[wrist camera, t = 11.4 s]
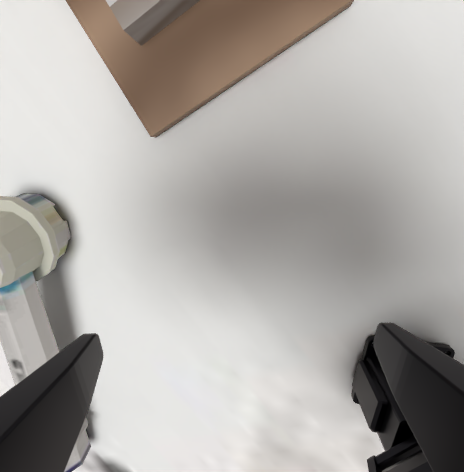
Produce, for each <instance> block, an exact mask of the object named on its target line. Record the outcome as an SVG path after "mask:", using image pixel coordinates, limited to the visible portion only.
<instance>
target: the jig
mask: <svg viewBox="0 0 464 472" xmlns="http://www.w3.org/2000/svg"><path fill="white" fill-rule="evenodd" d="M353 1H354V0H66V2H67V3H68V5H69V6H70V8H71V10H72V11H73V13H74V14H75V16H76V18H77V19H78V21H79V22H80V24H81V26H82V27H83V29H84V31H85V32H86V34H87V35H88V37H89V39H90V40H91V42H92V43H93V45H94V47H95V48H96V50H97V51H98V53H99V55H100V56H101V58H102V59H103V61H104V63H105V64H106V66H107V67H108V69H109V71H110V72H111V74H112V75H113V77H114V79H115V80H116V82H117V83H118V85H119V87H120V88H121V90H122V91H123V93H124V95H125V96H126V98H127V99H128V101H129V103H130V104H131V106H132V107H133V109H134V111H135V112H136V114H137V115H138V117H139V119H140V120H141V122H142V123H143V125H144V127H145V128H146V130H147V131H148V133H149V135H150V136H151V137H157V136H159V135H160V134H161V133H163V132H164V131H166V130H167V129H169V128H170V127H172V126H173V125H175V124H176V123H178V122H179V121H181V120H182V119H184V118H185V117H187V116H188V115H190V114H191V113H193V112H194V111H196V110H197V109H199V108H200V107H201V106H203V105H204V104H206V103H207V102H209V101H210V100H212V99H213V98H215V97H216V96H218V95H219V94H221V93H222V92H224V91H225V90H227V89H228V88H230V87H231V86H233V85H234V84H236V83H237V82H239V81H240V80H241V79H243V78H244V77H246V76H247V75H249V74H250V73H252V72H253V71H255V70H256V69H258V68H259V67H261V66H262V65H264V64H265V63H267V62H268V61H270V60H271V59H273V58H274V57H276V56H277V55H278V54H280V53H281V52H283V51H284V50H286V49H287V48H289V47H290V46H292V45H293V44H295V43H296V42H298V41H299V40H301V39H302V38H304V37H305V36H307V35H308V34H310V33H311V32H313V31H314V30H316V29H317V28H318V27H320V26H321V25H323V24H324V23H326V22H327V21H329V20H330V19H332V18H333V17H335V16H336V15H338V14H339V13H341V12H342V11H344V10H345V9H347V8H348V7H350V5H351V4H352V2H353Z"/></svg>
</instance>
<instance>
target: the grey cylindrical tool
mask: <svg viewBox="0 0 464 472" xmlns="http://www.w3.org/2000/svg"><path fill="white" fill-rule="evenodd" d="M54 206H55V204H54V203H52V202H51V201H49V200H47V199H46V198H44V197H43V196H41V195H40V194H22V195H19V196H16V197H5V196H0V341H1V344H2V347H3V350H4V353H5V356H6V359H7V362H8V365H9V368H10V371H11V374H12V377H13V380H14V383H15V385H17V384H18V383H19V382H21V381H22V380H23V379H24V378H26V377H27V376H28V375H30V374H31V373H32V372H34V371H35V370H36V369H38V368H39V367H40V366H42V365H43V364H44V363H46V362H47V361H48V360H50V359H51V358H52V357H54V356H55V355H56V354H57V353H59V349H58V346H57V343H56V340H55V337H54V334H53V331H52V328H51V325H50V322H49V319H48V316H47V314H46V311H45V308H44V305H43V302H42V299H41V296H40V293H39V290H38V287H37V284H36V281H38V280H39V279H41V278H42V277H44V276H45V275H47V274H48V273H50V272H51V271H52V270H54V269H55V268H56V264H57V260H58V258H60V257H61V256H62V255H63V254H65V253H66V252H65V251H66V247H67V244H68V240H69V239H70V238H71V235H70V231H69V227H68V223H67V221H64V220H62V218H61V217H60V216H59V214H58V213H57V212H56V210H55V209H54ZM88 425H89V424H88V421H87V419H86V418H85V420H84V423H83V426H82V428H81V431H80V433H79V436H78V438H77V441H76V443H75V446H74V448H73V451H72V453H71V456H70V458H69V461H68V463H67V466H66V469H65V471H64V472H72V471H73V470H75V469H76V468H77V467H79V466H80V465H82V464H83V462H84V460H85V458H86V456H87V454H88V452H89V450H90V447H91V445H90V442H89V439H88V436H87V432H86V428H87V427H88Z"/></svg>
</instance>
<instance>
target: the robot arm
mask: <svg viewBox="0 0 464 472" xmlns="http://www.w3.org/2000/svg"><path fill="white" fill-rule="evenodd" d="M373 342H374V344H372V343H373ZM446 351H447V352H446ZM445 352H446V353H445ZM454 354H455V352H454V350H453V349H452V348H451V347H450V346H449V345H444V344H436V343H428V342H424V341H423V340H421V339H419V338H418V337H416V336H414V335H413V334H411V333H409V332H408V331H406V330H404V329H403V328H401V327H399V326H398V325H396V324H394V323H391V322H389V323H379V324H378V326H377V330H376V334H375V336H370V337H369V338H367V340H366V344H365V347H364V351H363V355H362V358H361V359H360V360H359V362H358V365H357V369H356V372H355V376H354V380H353V383H352V386H353V391H352V399H353V401H354V402H355V403H357V404H360V406H361V408H362V411H363V413H364V416H365V418H366V421H367V423H368V426H369V428H370V429H371V431H372V432H377V433H378V435H379V438H380V440H381V443H382V445H383V447H384V450H385V452H383V453H381V454H379V455H378V456H372V457H370V458H369V459H367V463H368V469H369V472H464V365H463V364H461V363H459V362H458V361H456V360H454V359H453V357H454ZM102 361H103V350H102V346H101V343H100V339H99V336H98V334H96V333H91V334H83V335H81V336H80V337H79V338H77V339H76V340H75V341H73V342H72V343H71V344H69V345H68V346H67V347H65V348H64V349H63V350H61V351H60V352H59V353H57V354H56V355H55V356H54V357H52V358H51V359H50V360H48V361H47V362H46V363H44V364H43V365H42V366H40V367H39V368H38V369H36V370H35V371H34V372H32V373H31V374H30V375H28V376H27V377H26V378H24V379H23V380H22V381H21V382H19V383H18V384H17V385H15V386H14V387H13V388H11V389H10V390H9V391H7V392H6V393H5V394H3V395H2V396H1V397H0V472H64V471H65V469H66V466H67V463H68V461H69V458H70V456H71V453H72V451H73V448H74V446H75V443H76V441H77V438H78V436H79V433H80V431H81V428H82V426H83V423H84V420H85V418H86V415H87V413H88V410H89V407H90V403H91V400H92V396H93V393H94V389H95V386H96V382H97V379H98V375H99V372H100V368H101V365H102Z"/></svg>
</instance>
